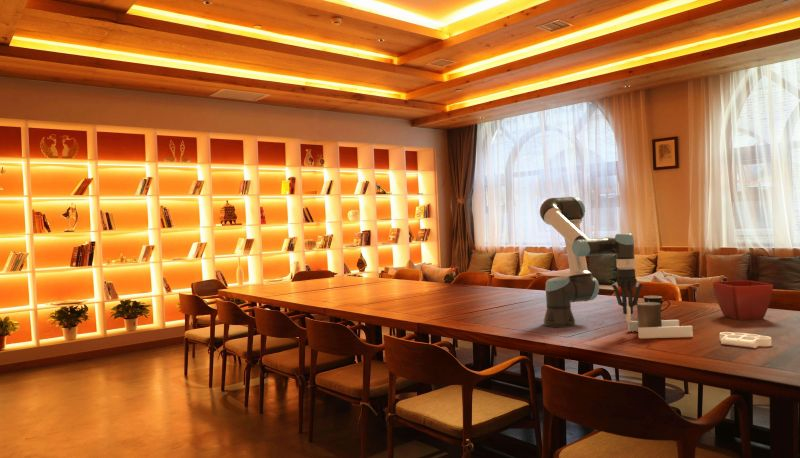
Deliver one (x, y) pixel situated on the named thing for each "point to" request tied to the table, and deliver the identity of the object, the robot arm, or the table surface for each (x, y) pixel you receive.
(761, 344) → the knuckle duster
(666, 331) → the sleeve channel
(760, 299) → the plant pot
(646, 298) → the coffee mug
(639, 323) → the pillar candle
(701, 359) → the table surface
